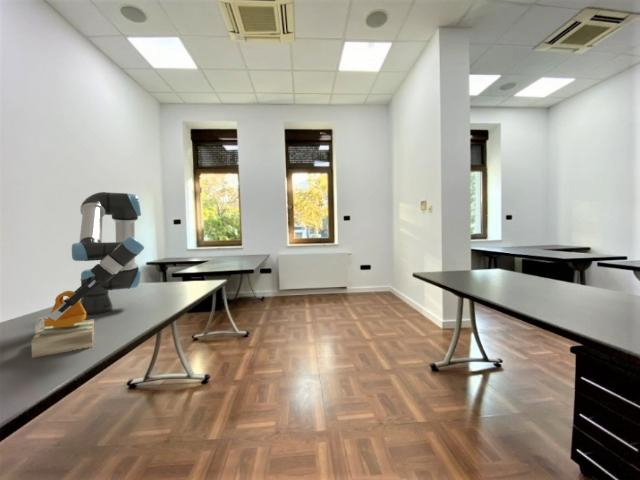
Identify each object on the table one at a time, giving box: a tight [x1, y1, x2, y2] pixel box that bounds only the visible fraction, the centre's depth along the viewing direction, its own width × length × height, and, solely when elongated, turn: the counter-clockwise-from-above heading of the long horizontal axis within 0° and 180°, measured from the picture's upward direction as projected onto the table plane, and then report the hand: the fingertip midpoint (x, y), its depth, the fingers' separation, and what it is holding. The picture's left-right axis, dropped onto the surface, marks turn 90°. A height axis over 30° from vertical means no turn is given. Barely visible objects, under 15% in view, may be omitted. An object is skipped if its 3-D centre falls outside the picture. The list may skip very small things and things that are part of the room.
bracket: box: [44, 290, 87, 328], centre depth 109 cm, size 11×7×12 cm, turn 119°
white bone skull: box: [34, 312, 51, 334], centre depth 122 cm, size 12×9×10 cm
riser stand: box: [30, 318, 95, 359], centre depth 109 cm, size 18×16×6 cm
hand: (53, 315), depth 107 cm, fingers closed on bracket, 7 cm apart
